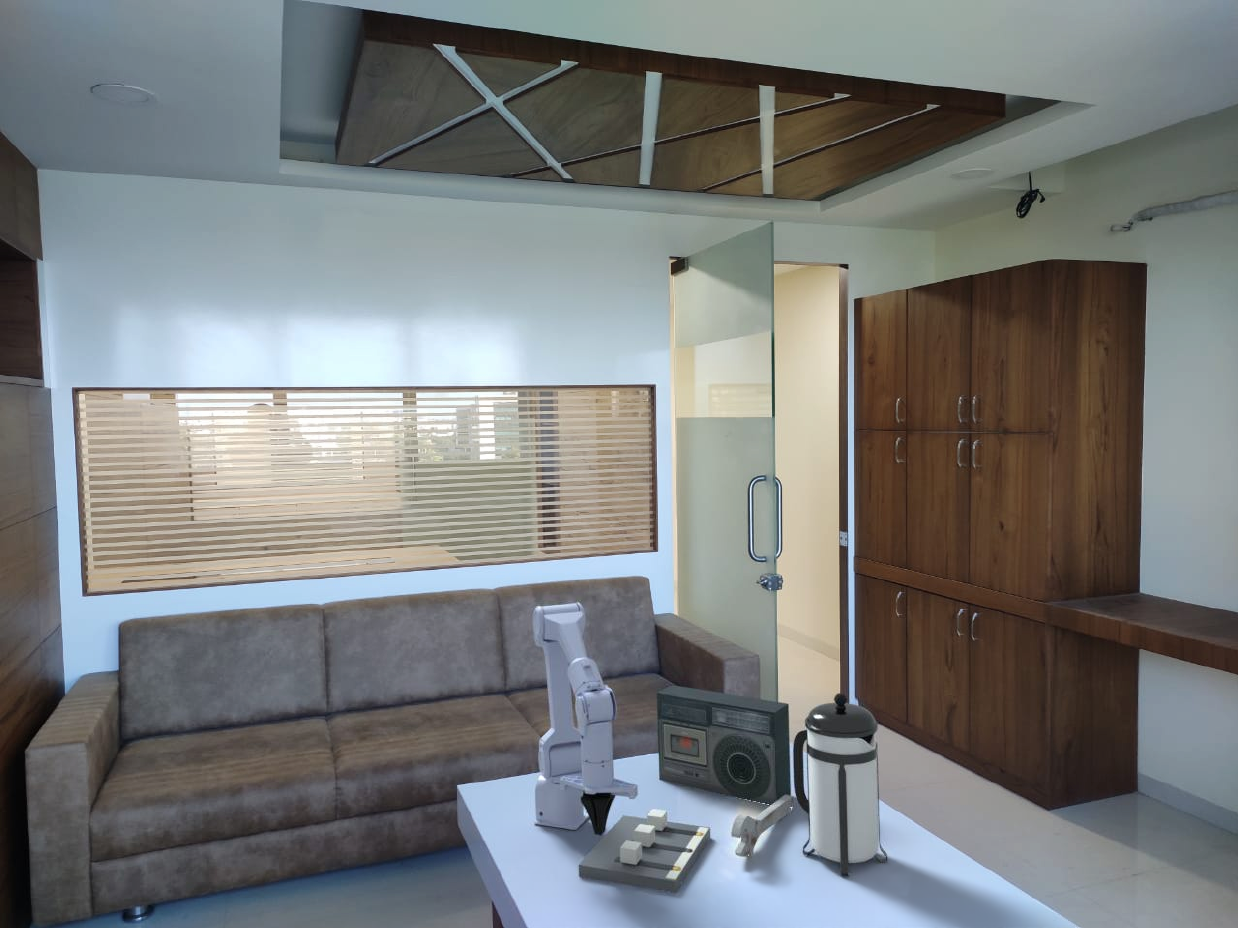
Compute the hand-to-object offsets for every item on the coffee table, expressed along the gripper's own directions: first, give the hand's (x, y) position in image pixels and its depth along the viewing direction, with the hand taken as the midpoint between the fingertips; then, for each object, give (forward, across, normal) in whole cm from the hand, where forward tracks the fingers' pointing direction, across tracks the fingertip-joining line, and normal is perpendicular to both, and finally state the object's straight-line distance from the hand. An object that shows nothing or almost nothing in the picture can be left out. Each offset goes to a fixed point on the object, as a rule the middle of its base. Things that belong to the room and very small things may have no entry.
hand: (599, 832), depth 154 cm
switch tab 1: (+4, +6, 0) cm, 7 cm away
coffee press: (+7, +39, +18) cm, 44 cm away
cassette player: (+7, +11, +42) cm, 44 cm away
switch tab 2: (+4, +6, +14) cm, 16 cm away
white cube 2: (+4, +6, +7) cm, 10 cm away
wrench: (+7, +25, +22) cm, 34 cm away
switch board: (+6, +6, +7) cm, 11 cm away
